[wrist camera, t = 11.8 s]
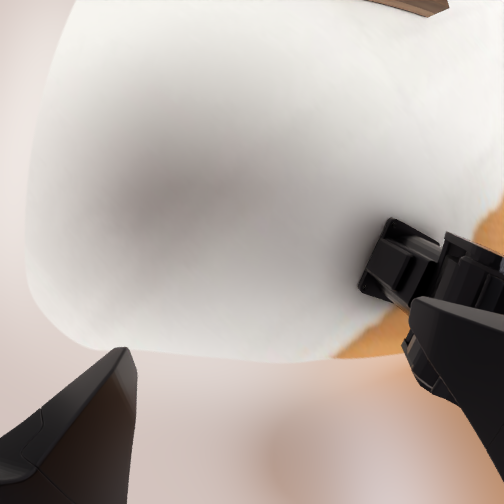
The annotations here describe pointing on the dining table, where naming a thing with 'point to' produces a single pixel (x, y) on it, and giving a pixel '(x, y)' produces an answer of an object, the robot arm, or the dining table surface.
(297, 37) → the dining table surface
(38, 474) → the robot arm
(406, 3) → the drawer
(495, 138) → the dining table surface
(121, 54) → the dining table surface
